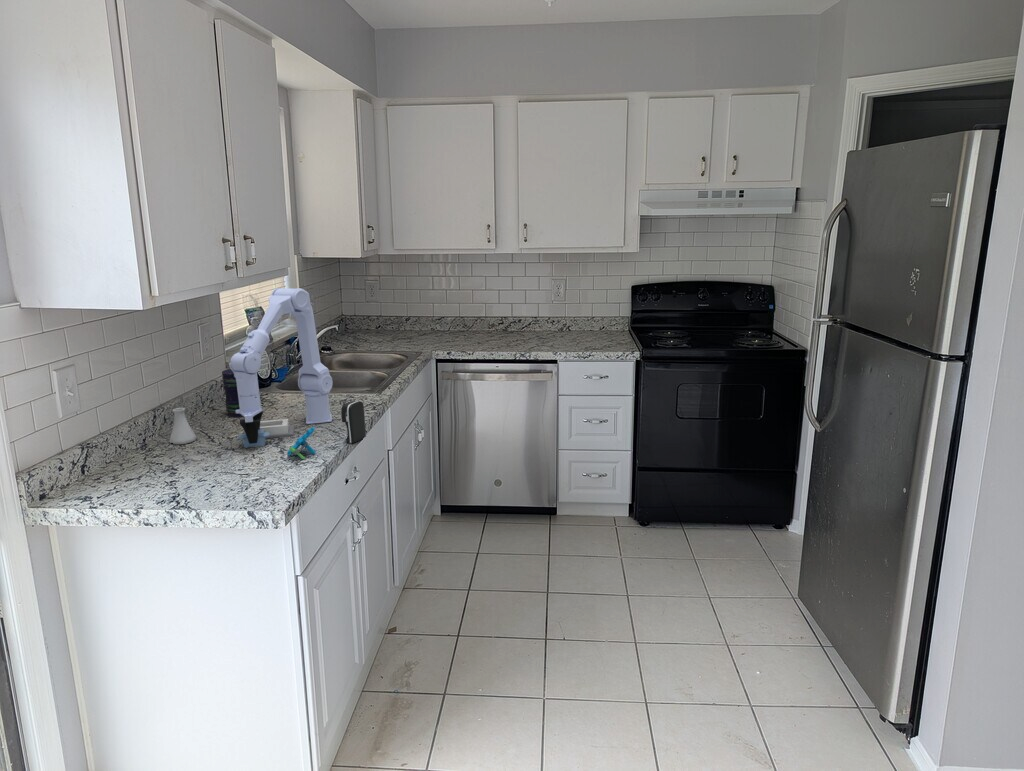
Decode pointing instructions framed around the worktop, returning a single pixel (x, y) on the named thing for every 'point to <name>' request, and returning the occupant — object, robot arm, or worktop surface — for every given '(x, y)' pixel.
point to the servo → (259, 443)
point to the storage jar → (231, 394)
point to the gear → (302, 444)
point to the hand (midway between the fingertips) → (254, 439)
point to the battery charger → (354, 420)
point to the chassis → (277, 428)
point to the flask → (181, 428)
